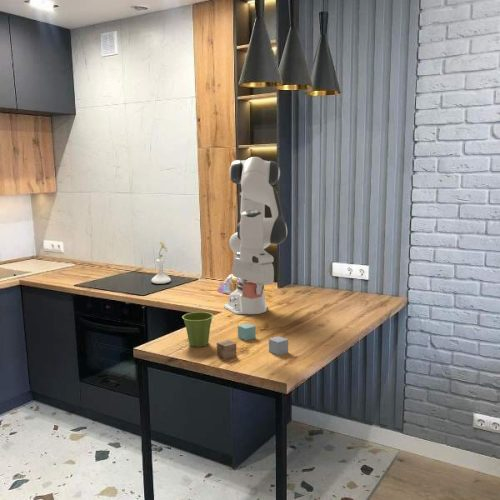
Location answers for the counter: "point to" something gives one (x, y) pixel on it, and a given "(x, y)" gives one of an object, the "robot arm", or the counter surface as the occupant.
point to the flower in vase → (161, 270)
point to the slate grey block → (278, 345)
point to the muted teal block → (246, 331)
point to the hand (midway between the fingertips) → (252, 292)
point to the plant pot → (198, 327)
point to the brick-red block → (250, 290)
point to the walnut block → (226, 349)
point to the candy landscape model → (229, 285)
